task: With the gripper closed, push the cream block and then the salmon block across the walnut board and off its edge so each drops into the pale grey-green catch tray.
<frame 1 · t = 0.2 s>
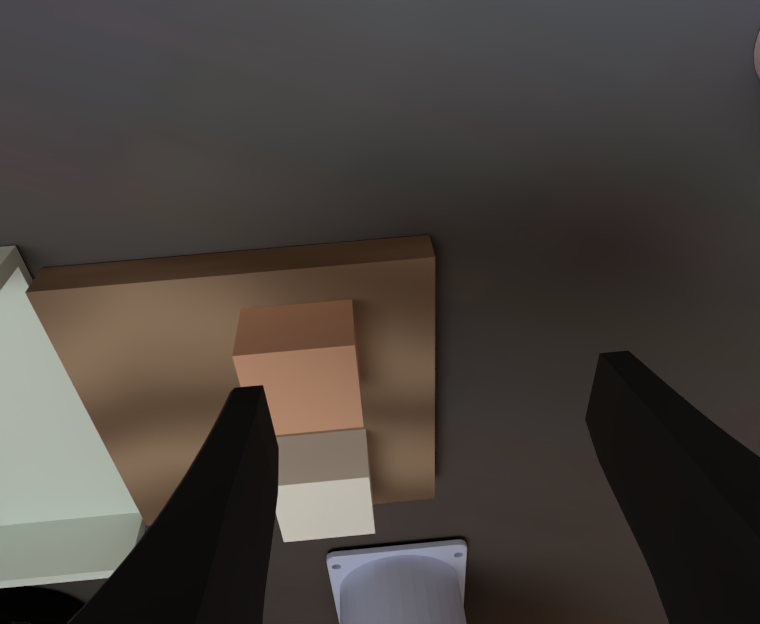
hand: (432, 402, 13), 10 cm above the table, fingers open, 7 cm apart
cream block: (324, 462, 27), point 1 cm above the table, touching walnut board
salmon block: (303, 346, 23), point 1 cm above the table, touching walnut board
supplement bottle: (35, 610, 36), on the table
walnut board: (269, 388, 26), on the table
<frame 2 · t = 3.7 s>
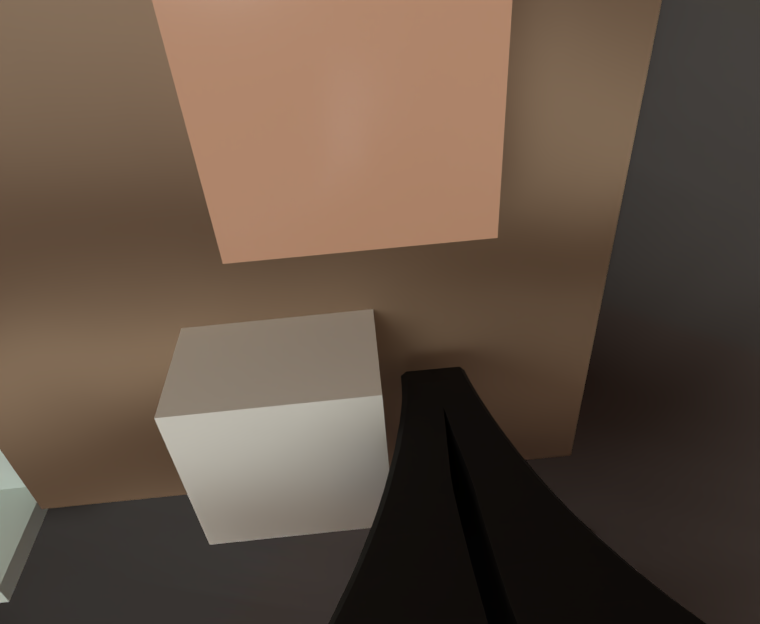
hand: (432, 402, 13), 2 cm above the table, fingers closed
cream block: (292, 387, 14), point 1 cm above the table, touching gripper, walnut board
salmon block: (342, 59, 9), point 1 cm above the table, touching walnut board
walnut board: (264, 220, 13), on the table
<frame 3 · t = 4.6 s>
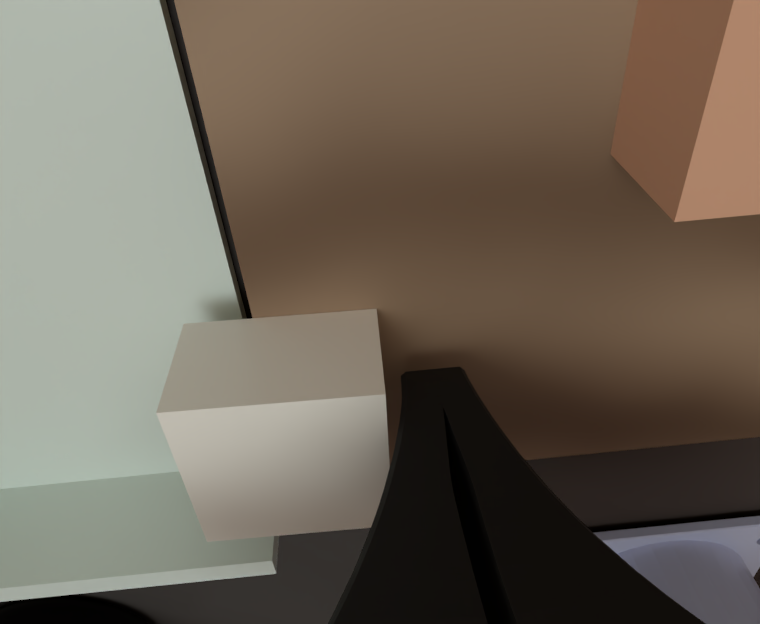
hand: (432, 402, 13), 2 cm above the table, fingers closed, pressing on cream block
cream block: (293, 385, 14), point 2 cm above the table, touching gripper
salmon block: (755, 24, 10), point 1 cm above the table, touching walnut board
walnut board: (572, 192, 13), on the table
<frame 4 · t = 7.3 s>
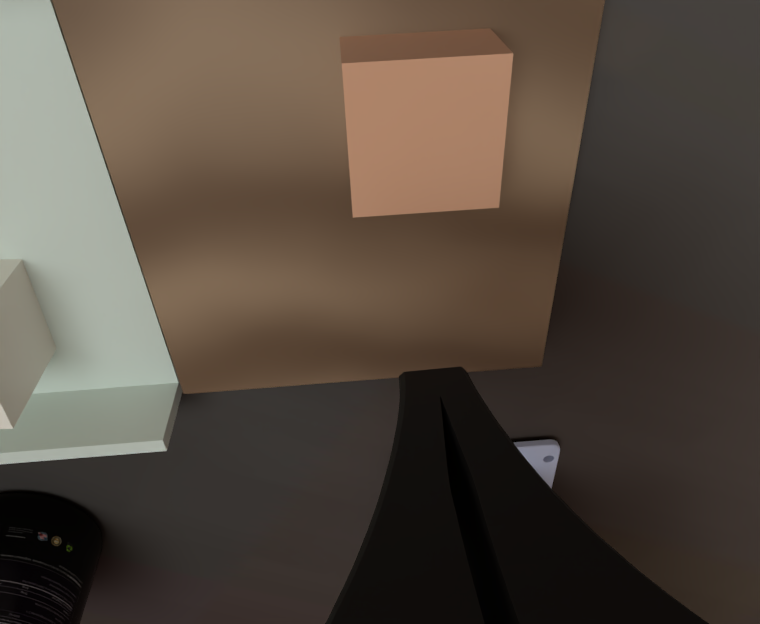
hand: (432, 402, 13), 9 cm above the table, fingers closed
cream block: (17, 342, 20), point 2 cm above the table, tilted 90°, touching catch tray
salmon block: (415, 108, 17), point 1 cm above the table, touching walnut board
supplement bottle: (37, 525, 30), on the table
walnut board: (351, 199, 20), on the table
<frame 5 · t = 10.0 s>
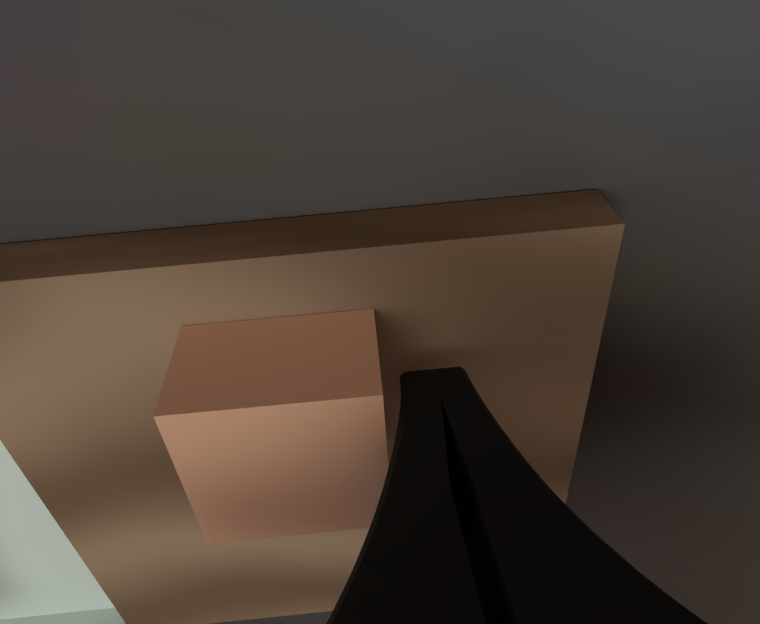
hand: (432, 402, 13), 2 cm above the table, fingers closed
salmon block: (291, 386, 14), point 2 cm above the table, touching gripper
walnut board: (314, 437, 17), on the table
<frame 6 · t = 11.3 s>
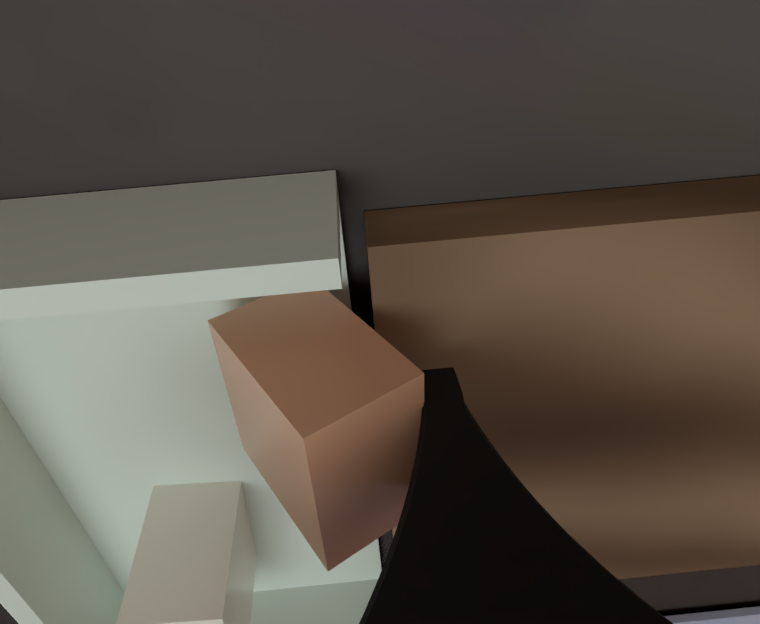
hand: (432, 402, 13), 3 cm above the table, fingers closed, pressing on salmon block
cream block: (242, 582, 17), point 2 cm above the table, tilted 90°, touching catch tray
salmon block: (367, 390, 13), point 2 cm above the table, tilted 59°, touching catch tray, gripper
walnut board: (624, 405, 17), on the table
catch tray: (199, 447, 17), on the table
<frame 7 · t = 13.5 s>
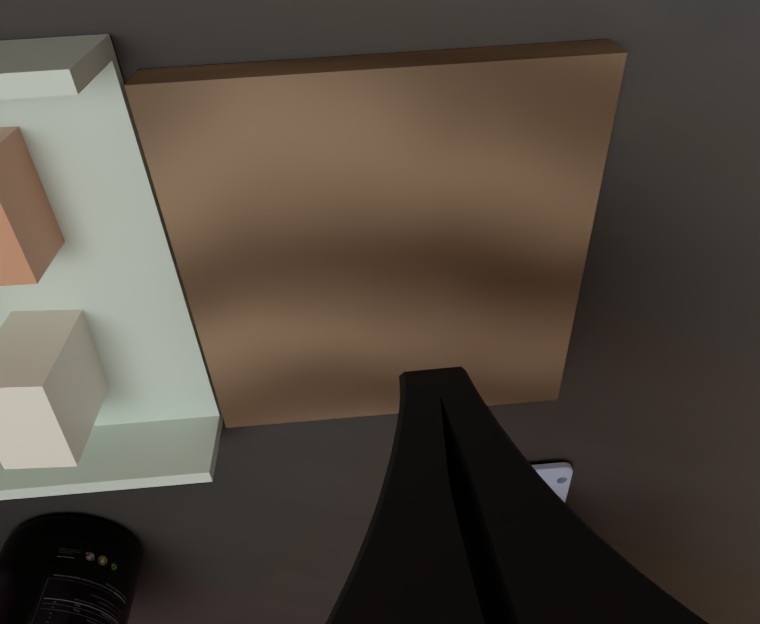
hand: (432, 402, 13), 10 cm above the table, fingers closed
cream block: (79, 386, 22), point 2 cm above the table, tilted 90°, touching catch tray
supplement bottle: (80, 543, 32), on the table
walnut board: (384, 253, 22), on the table
catch tray: (47, 279, 22), on the table
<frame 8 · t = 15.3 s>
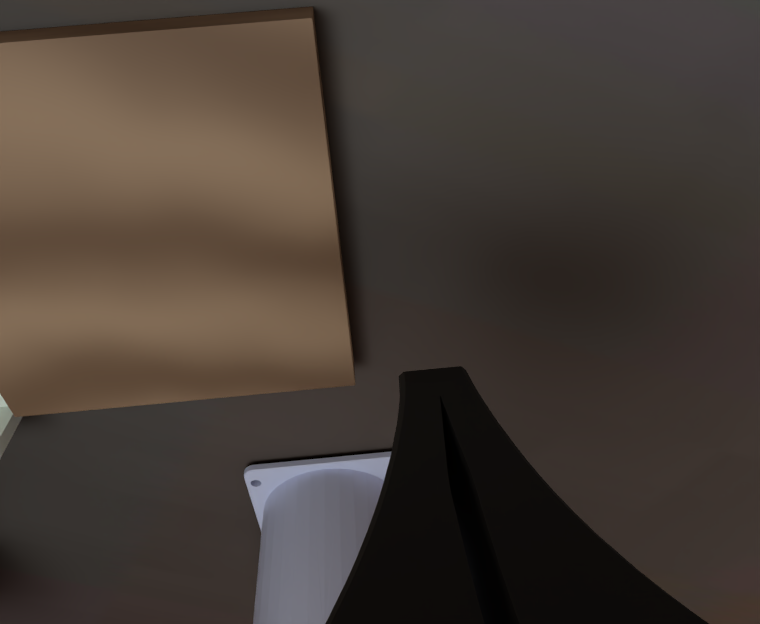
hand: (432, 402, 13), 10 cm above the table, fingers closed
walnut board: (143, 235, 22), on the table
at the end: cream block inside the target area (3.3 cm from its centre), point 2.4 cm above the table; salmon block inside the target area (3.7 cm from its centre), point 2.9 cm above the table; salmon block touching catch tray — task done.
